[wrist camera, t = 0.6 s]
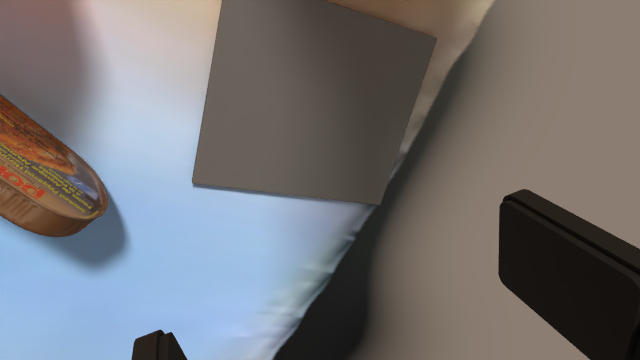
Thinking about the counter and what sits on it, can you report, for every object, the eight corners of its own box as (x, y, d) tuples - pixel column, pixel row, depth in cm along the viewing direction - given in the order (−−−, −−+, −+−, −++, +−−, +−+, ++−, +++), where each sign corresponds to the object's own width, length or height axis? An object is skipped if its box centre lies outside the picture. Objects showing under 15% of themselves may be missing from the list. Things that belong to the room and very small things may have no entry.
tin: (117, 185, 34) (100, 233, 27) (90, 208, 34) (65, 263, 27) (-66, 42, 26) (-160, 54, 19) (-100, 72, 27) (-207, 96, 19)
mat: (227, -31, 30) (228, -32, 30) (433, 37, 38) (436, 38, 37) (191, 180, 36) (192, 183, 35) (377, 203, 43) (380, 205, 43)
